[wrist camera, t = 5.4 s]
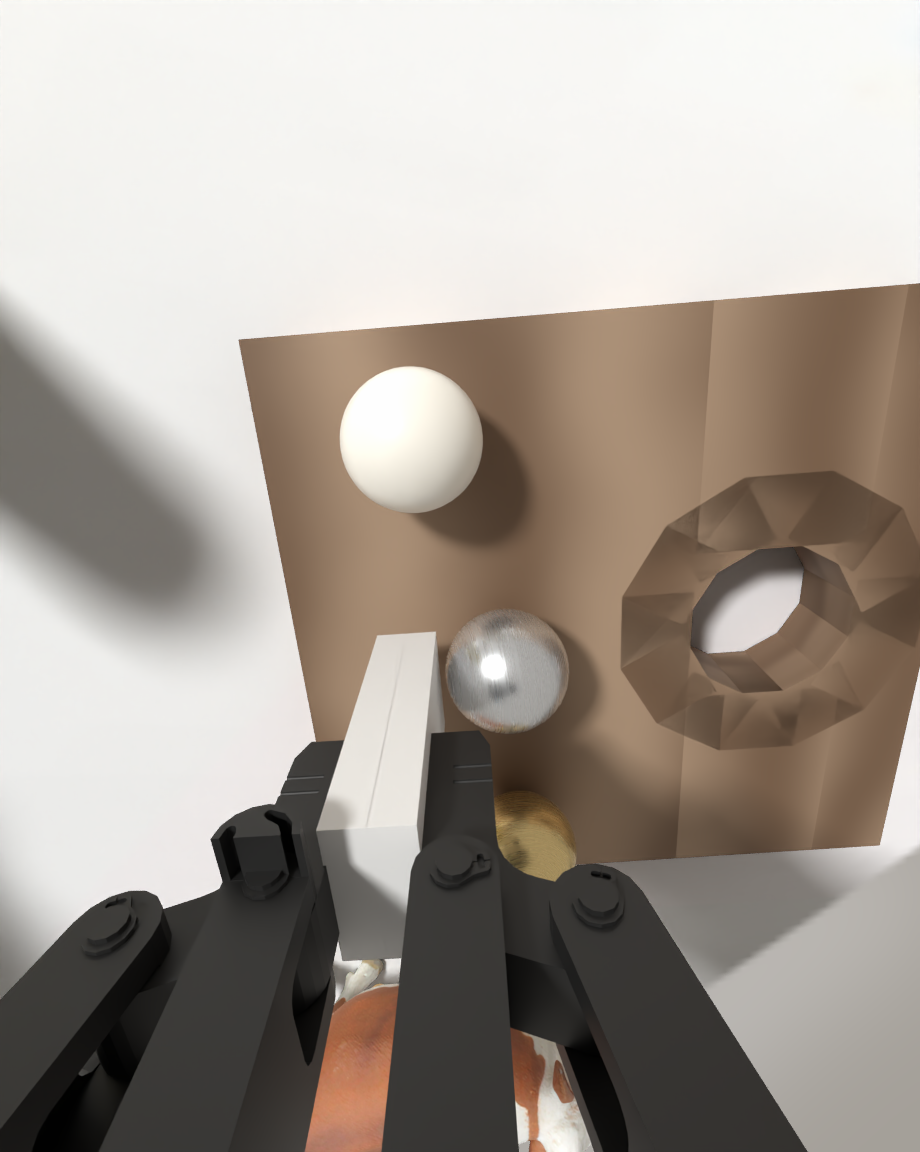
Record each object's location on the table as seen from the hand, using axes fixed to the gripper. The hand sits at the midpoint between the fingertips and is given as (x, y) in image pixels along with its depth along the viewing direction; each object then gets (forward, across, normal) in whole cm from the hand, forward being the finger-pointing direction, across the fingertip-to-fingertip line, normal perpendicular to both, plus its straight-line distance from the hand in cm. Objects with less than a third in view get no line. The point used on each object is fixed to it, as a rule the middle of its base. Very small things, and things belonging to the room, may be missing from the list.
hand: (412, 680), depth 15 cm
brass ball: (0, +3, -6) cm, 6 cm away
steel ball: (0, +2, 0) cm, 3 cm away
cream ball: (0, +1, +6) cm, 6 cm away
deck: (+4, +6, 0) cm, 7 cm away
